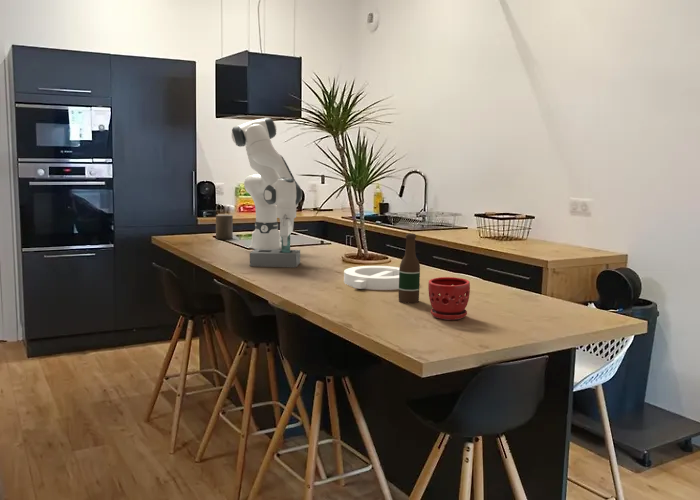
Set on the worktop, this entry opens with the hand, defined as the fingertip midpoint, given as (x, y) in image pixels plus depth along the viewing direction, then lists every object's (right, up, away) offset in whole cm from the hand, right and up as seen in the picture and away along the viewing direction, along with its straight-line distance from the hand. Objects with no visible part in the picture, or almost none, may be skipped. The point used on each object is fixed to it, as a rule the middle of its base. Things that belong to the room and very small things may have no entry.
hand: (286, 244), depth 305 cm
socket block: (-5, -9, +1) cm, 11 cm away
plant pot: (+60, -25, -89) cm, 111 cm away
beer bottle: (+50, -21, -68) cm, 87 cm away
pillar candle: (-44, +4, +85) cm, 96 cm away
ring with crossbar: (+41, -16, -36) cm, 56 cm away
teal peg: (0, -9, +1) cm, 10 cm away
